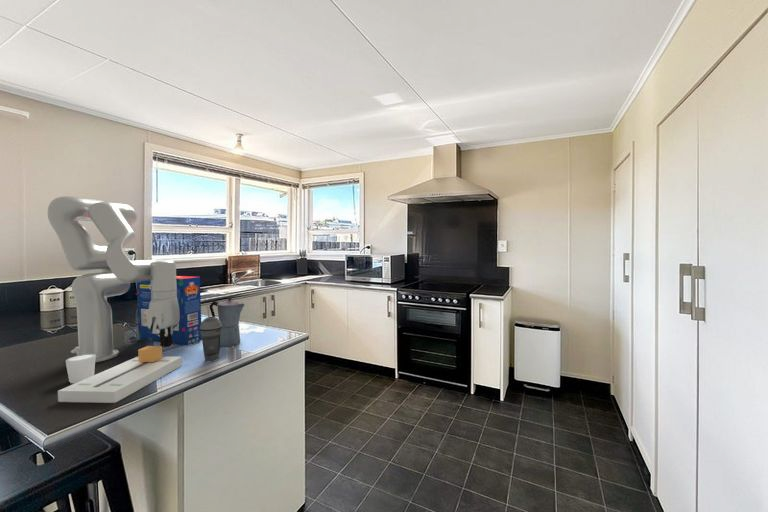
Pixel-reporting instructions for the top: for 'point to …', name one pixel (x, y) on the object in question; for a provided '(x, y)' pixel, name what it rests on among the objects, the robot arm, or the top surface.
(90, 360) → the white tapered cup
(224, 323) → the moka pot
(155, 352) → the fader knob
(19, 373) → the top surface
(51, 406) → the top surface
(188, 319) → the blue box
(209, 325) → the beverage cup
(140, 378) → the slide fader track
